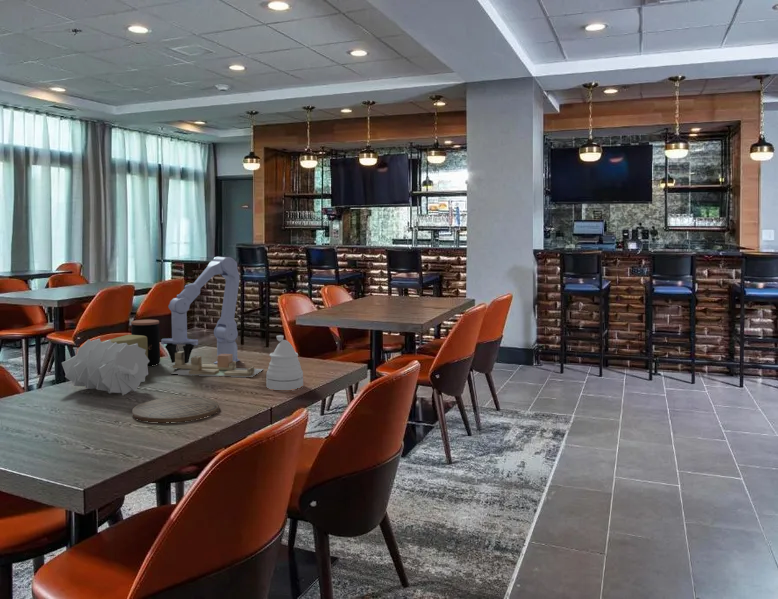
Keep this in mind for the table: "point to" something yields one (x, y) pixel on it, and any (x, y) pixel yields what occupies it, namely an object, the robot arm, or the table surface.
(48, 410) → the table surface
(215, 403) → the trivet
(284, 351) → the honey pot
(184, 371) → the mat
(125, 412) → the table surface
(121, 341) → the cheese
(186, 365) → the beige wooden beam
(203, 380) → the table surface
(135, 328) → the coffee jar
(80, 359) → the white spiky cylinder
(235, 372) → the broken strip
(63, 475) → the table surface
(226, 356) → the cube
